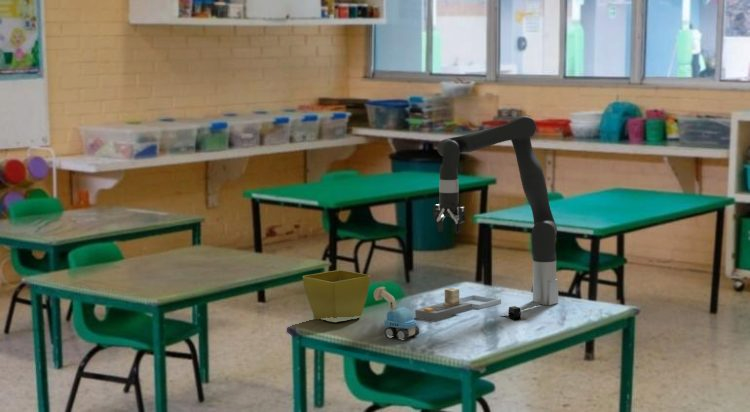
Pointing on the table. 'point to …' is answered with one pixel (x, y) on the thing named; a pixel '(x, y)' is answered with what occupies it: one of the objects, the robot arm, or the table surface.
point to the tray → (480, 301)
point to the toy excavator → (397, 317)
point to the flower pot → (336, 293)
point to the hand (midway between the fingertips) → (449, 232)
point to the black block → (514, 314)
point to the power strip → (441, 311)
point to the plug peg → (451, 297)
